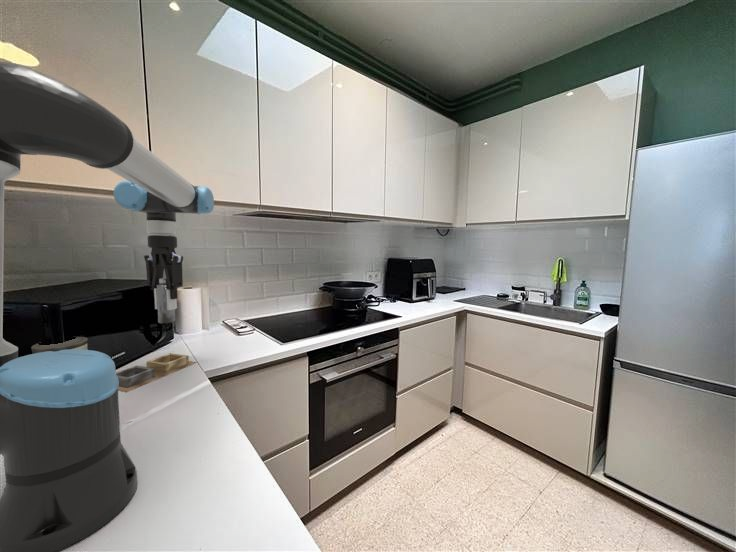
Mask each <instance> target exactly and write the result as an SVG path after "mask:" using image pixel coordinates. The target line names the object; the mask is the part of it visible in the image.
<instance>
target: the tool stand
mask: <svg viewBox="0 0 736 552" xmlns="http://www.w3.org/2000/svg"><path fill="white" fill-rule="evenodd" d="M145 362H146V366H141V365H134V366H131V367H128V368H125V369H122V370H120V371H116V375H117V377H118V380H119V386H118V392H122V393H123V392H124V393H128V392H130V391H134V390H135V389H138V388H140V387H143V386H145V385H147V384H150V383H152V382H154V381H155V382H156V380H159V379H161V378H163V377H167V376H168V375H170V374H171V375H172V374H173V373H175V372H178V371H181V370H182V369H185V368H188V367H189V366H192V365H195V364H197V363H198V361H193V360H192V361H191V360H190V358H189V355H187V354H186V355H184V354H178V353H173V352H172V353H168V354H164V355H161V356H159V357H156V358H153V359H149V360H148V361H145Z"/></svg>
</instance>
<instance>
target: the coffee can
mask: <svg viewBox="0 0 736 552" xmlns="http://www.w3.org/2000/svg"><path fill="white" fill-rule="evenodd" d="M75 337H76V338H75V339H72V340H69V341H66V342H63V343H58V344H50V345H39V344H38V343H35V344H33V345H32V346H31V347H30V348H31V352H32V354H35V353H40V352H46V351H53V352H55V351H60V350H68V349H80V350H89V349H88V337H86V336H75Z"/></svg>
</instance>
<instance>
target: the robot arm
mask: <svg viewBox="0 0 736 552" xmlns="http://www.w3.org/2000/svg"><path fill="white" fill-rule="evenodd" d="M21 155H31V156H32V155H33V156H49V157H52V156H53V157H58V158H67V159H72V160H77V161H78V162H79V161H80V162H82V163H84V164H86V165H88V166H90V167H92V168H94V169H95V168H96V169H101V170H108V171H110V172H112V173H114V174H115V175H118V176H120V177H121V178H123V179H124V180H122V181H120V182H118V183H117V184H116V186H114V187H113V193H112V194H113V198H114V201H115V202H116V204H117V205H119V206H120V207H121V208H123V209H125V210H128V211H131V212H139V213H144V214H146V233H147V234H148V236H147V247H148V248H150V249H151V251H150V254H147V255H143V258H144V261H145V268H146V282H147V283H146V285H147V286H148V287H151V288H152V289H153V298H154V310H158V305H157V287H156V285H158V284H159V278H164V274H165V278H166V279H167V284H168V288H166V294H167V310H172V309H175V310H176V309H178V302H177V299H178V289H179V288H181V287H183V284H184V283H183V282H184V281H183V280H184V279H183V261H184V256H183V255H178V254H177V252H176V249H177V248H178V237H177V236H176V235H177V219H176V216H177V215H176V214H195V215H200V214H203V215H204V214H211V213H212V212H213V210H214V207H215V199H214V194H213V192H212V190H211V189H210V187H207V186H201V185H193V184H191V182H189V181H188V180H186V178H184V177H183V176H182V175H181V174H179V173H178V172H177V171H176V170H174V169H173V168H172V167H171V166H169V165H168V164H167V163H166V162H165V161H163V160H162V159H161V158H159V157H158V156H157V155H155V153H153V152H152V151H151V150H149V149H148V148H147V147H146V146H144V145H143V144H142V143H141V142H139V141H138V140H137V139H136V138H134V134H133V132H132V130H131V128H130V127H129V126H128V125H127V124H126V123H125V122H124V121H123V120H121V118H119V117H118V116H116V115H115V114H114V113H113V112H111V111H110V110H108V109H107V108H106V107H105V106H103V105H102V104H100V103H99V102H97V101H95V100H94V99H93V98H91V97H89V96H87V94H84V93H82V92H81V91H79V90H77V89H75V88H74V87H73V86H70V85H68V84H67V83H65V82H63V81H61V80H58V79H56V78H55V77H53V76H50V75H48V74H46V73H43V72H42V71H39V70H35V69H33V68H30V67H27V66H23V65H19V64H17V63H12V62H7V61H0V455H1V456H2V457H3V465H4V476H5V486H4V489H3V491H2V495H1V497H0V552H58V551H61V550H63V549H65V548H67V547H70V546H72V545H74V544H75V543H77V542H80V541H81V540H83V539H84V538H87V537H88V536H89V535H91V534H94V533H95V532H96V531H98V530H99V529H101V528H102V527H103V526H104V525H106V524H108V523H109V522H110V521H111V520H113V519H114V518H115V517H116V516H117V515H118V514H119V513H121V511H123V509H124V508H125V507H127V505H128V503H130V501H131V500H132V498H133V497H134V496H135V493H136V490H137V488H138V473H137V472H138V471H137V467H136V466H135V464H134V462H133V460H132V458H131V457H130V455H129V453H128V451H126V448H125V447H124V445H123V444H122V440H121V427H120V426H121V425H120V424H121V423H120V404H119V403H120V402H119V391H118V386H119V380H118V377H117V375H116V372H117V371H116V365H115V364H116V363H115V361H114V360H113V358H111V356H109V355H108V354H106V353H104V352H101V351H97V350H92V349H91V350H90V349H88V350H80V349H68V350H60V351H55V352H53V351H46V352H40V353H35V354H33V353H32V354H31V353H30V354H27V355H24V356H20V357H19V347H18V346H17V345H14V344H13V343H11V342H9V341H6V339H4V338H3V336H4V335H3V333H4V332H3V326H4V325H3V323H4V319H3V318H4V317H3V316H4V256H5V255H4V254H5V252H4V251H5V250H4V249H5V245H4V244H5V242H4V239H5V236H4V235H5V233H4V232H5V231H4V230H5V182H6V181H9V180H10V179H12V178H14V177H17V176H18V175H20V174H21ZM172 284H173V285H172Z"/></svg>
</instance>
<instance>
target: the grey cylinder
mask: <svg viewBox="0 0 736 552" xmlns="http://www.w3.org/2000/svg"><path fill="white" fill-rule="evenodd" d="M172 285H173V284H172ZM156 287H157V305H158V309H157V323H159V324H170V323H174V322H176V314H175V310H176V309H172V310H167V294H166V288H168V284H167V279H166V277H163V278H159V284H158V285H156Z"/></svg>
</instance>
